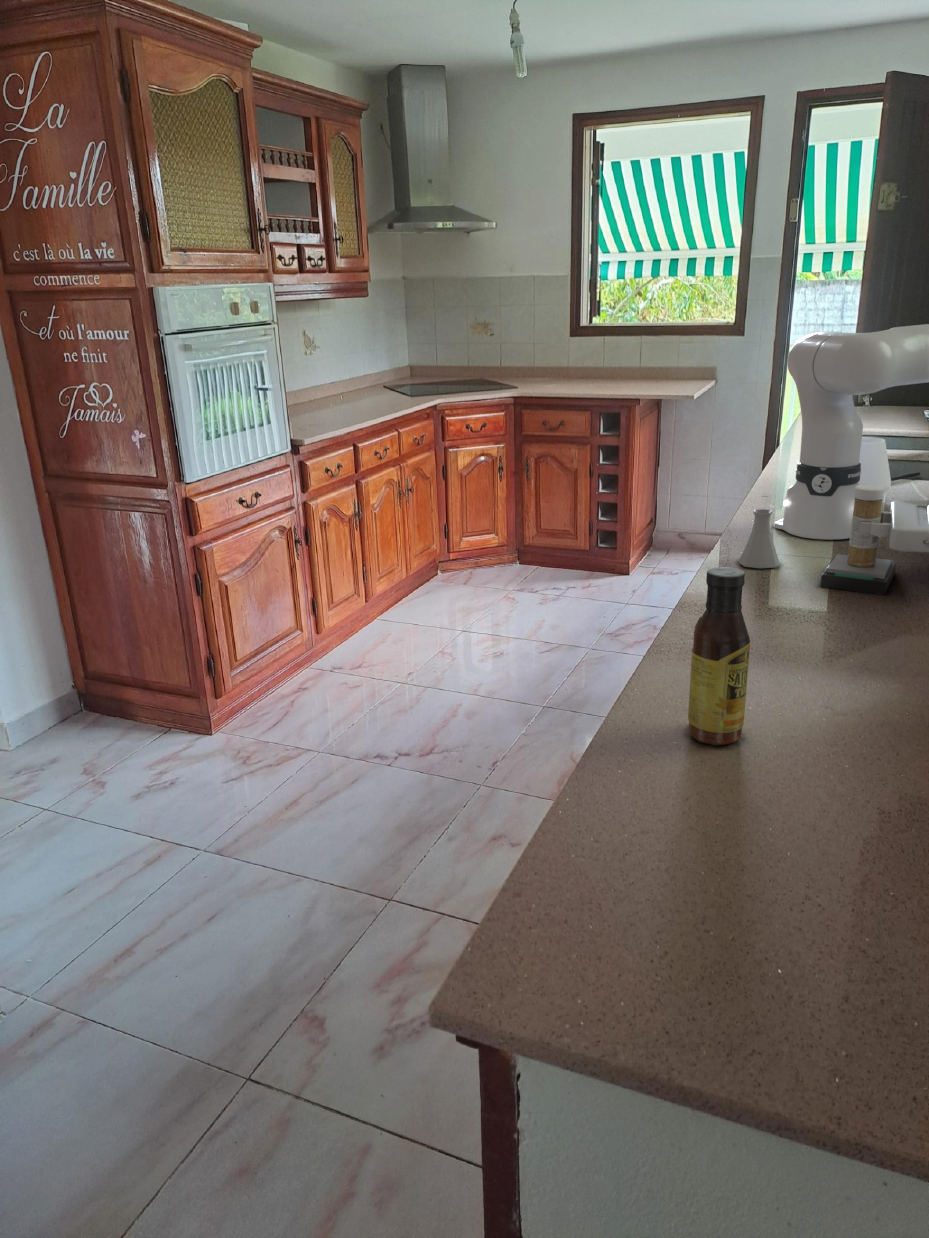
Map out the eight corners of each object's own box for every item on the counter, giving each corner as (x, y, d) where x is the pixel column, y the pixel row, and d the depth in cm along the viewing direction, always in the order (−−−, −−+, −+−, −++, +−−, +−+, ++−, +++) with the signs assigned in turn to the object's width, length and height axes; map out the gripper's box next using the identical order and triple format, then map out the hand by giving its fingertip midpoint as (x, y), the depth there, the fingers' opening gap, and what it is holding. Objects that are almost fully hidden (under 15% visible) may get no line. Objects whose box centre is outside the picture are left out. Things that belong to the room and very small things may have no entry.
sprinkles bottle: (859, 558, 153) (868, 482, 148) (881, 564, 149) (891, 486, 144) (840, 563, 151) (848, 485, 146) (862, 569, 147) (871, 490, 142)
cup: (893, 496, 206) (901, 436, 201) (884, 508, 196) (892, 446, 191) (832, 491, 213) (838, 433, 208) (820, 503, 202) (826, 442, 198)
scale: (833, 567, 158) (835, 551, 157) (894, 574, 153) (896, 557, 152) (820, 587, 149) (822, 570, 148) (884, 594, 144) (887, 577, 143)
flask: (781, 570, 158) (786, 516, 155) (739, 569, 160) (743, 515, 156) (776, 558, 165) (781, 506, 161) (736, 557, 166) (740, 506, 163)
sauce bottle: (733, 753, 98) (745, 584, 91) (679, 740, 102) (687, 577, 95) (749, 728, 103) (762, 567, 97) (697, 717, 107) (706, 560, 100)
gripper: (953, 565, 135) (855, 557, 140) (945, 531, 152) (858, 525, 158) (960, 525, 133) (860, 519, 138) (951, 495, 150) (863, 491, 155)
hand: (859, 522), depth 148 cm, fingers closed on sprinkles bottle, 4 cm apart
